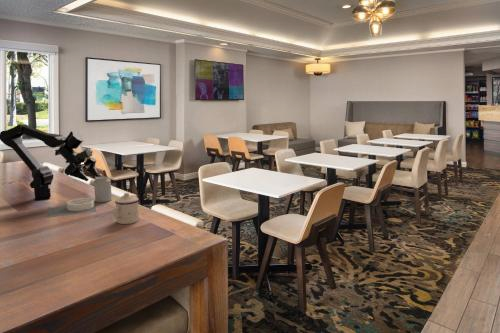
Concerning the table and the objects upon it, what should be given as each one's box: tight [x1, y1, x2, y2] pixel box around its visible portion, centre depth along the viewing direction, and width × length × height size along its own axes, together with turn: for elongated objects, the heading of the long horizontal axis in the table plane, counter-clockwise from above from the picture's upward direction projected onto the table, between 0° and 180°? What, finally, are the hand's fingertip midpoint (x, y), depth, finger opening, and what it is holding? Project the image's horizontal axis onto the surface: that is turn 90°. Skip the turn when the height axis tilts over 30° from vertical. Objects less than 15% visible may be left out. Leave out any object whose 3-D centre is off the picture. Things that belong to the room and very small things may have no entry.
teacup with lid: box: [112, 192, 140, 225], centre depth 152 cm, size 12×9×12 cm
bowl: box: [66, 197, 95, 211], centre depth 171 cm, size 11×11×3 cm
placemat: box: [47, 203, 97, 218], centre depth 168 cm, size 19×16×1 cm
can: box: [93, 175, 113, 203], centre depth 182 cm, size 8×8×12 cm
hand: (93, 178), depth 182 cm, fingers open, 9 cm apart
